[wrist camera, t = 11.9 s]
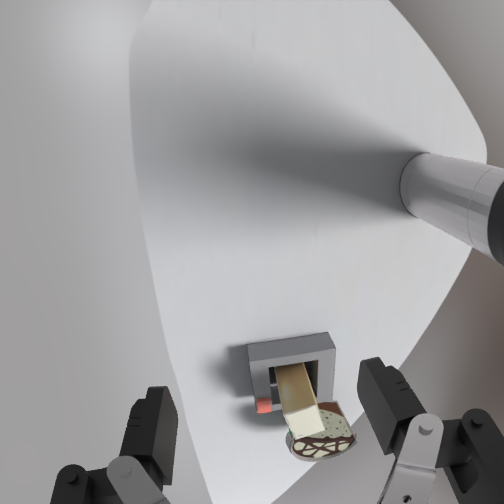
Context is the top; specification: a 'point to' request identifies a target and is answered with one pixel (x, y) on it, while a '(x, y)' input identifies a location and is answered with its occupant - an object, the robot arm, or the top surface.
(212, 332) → the top surface
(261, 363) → the socket block
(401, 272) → the top surface
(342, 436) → the food container
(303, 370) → the skincare box
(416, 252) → the top surface
